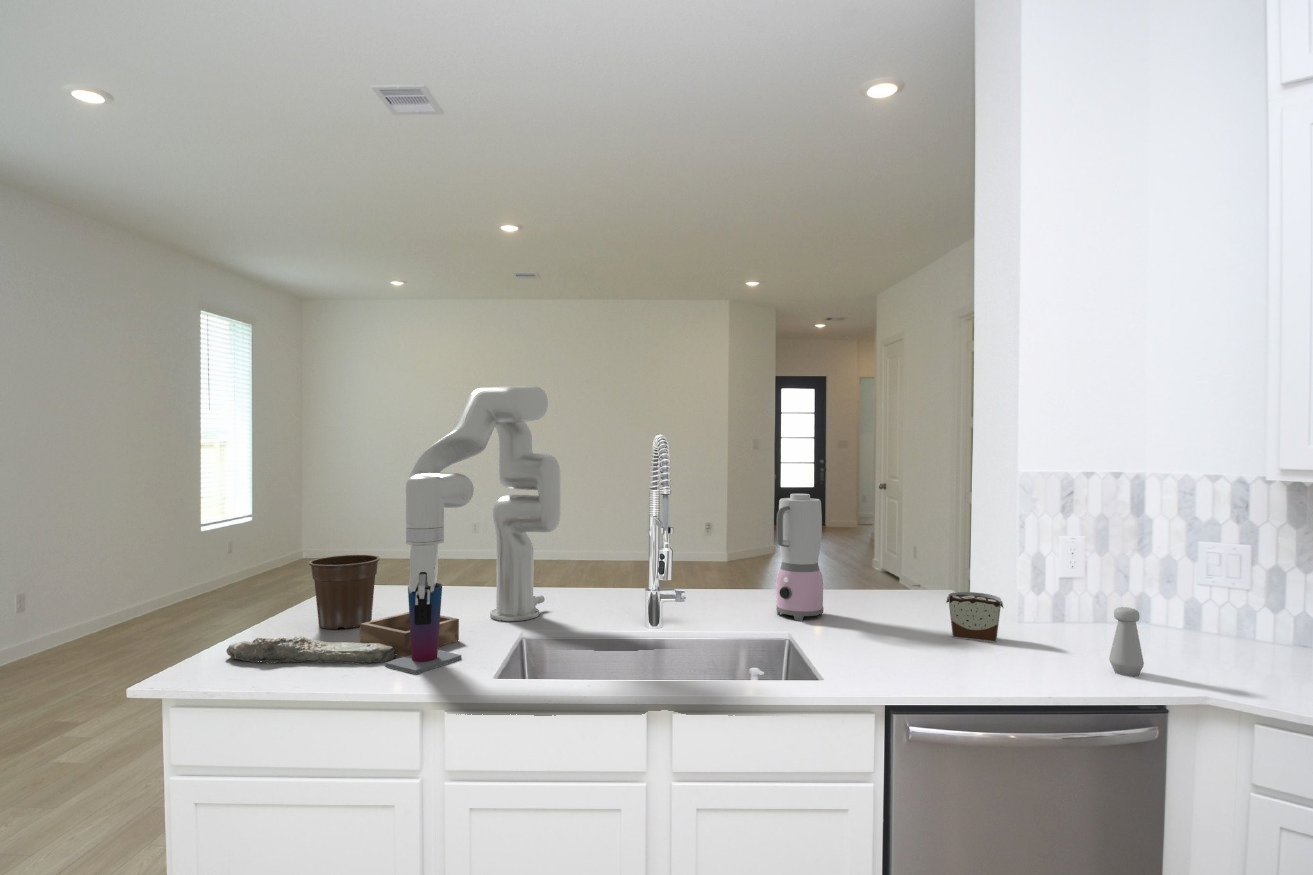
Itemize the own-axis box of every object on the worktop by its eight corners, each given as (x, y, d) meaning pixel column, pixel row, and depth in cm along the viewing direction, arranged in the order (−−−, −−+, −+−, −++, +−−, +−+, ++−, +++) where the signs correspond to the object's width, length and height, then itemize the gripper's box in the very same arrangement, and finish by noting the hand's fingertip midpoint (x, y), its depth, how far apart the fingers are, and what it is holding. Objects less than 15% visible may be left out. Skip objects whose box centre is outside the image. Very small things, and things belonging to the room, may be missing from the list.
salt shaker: (1102, 668, 149) (1102, 605, 149) (1129, 668, 149) (1129, 604, 149) (1123, 678, 143) (1123, 611, 143) (1150, 677, 144) (1150, 611, 144)
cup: (431, 664, 147) (432, 590, 147) (400, 662, 148) (401, 588, 148) (447, 654, 154) (448, 583, 154) (417, 652, 155) (418, 581, 155)
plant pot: (293, 628, 178) (293, 561, 178) (344, 613, 193) (344, 552, 193) (344, 635, 172) (345, 566, 172) (393, 619, 187) (393, 556, 187)
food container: (1003, 636, 173) (1003, 594, 173) (1003, 643, 168) (1003, 599, 168) (947, 630, 178) (947, 589, 178) (945, 636, 173) (946, 594, 173)
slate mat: (432, 652, 158) (432, 648, 158) (461, 658, 154) (461, 655, 154) (385, 666, 148) (385, 662, 148) (415, 674, 143) (415, 670, 143)
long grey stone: (382, 674, 148) (401, 662, 158) (384, 648, 148) (402, 637, 158) (213, 662, 149) (242, 651, 159) (215, 636, 149) (244, 626, 159)
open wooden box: (414, 631, 175) (414, 610, 175) (458, 640, 167) (458, 618, 167) (360, 646, 163) (360, 623, 163) (405, 657, 155) (405, 633, 155)
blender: (795, 607, 202) (795, 491, 202) (833, 615, 193) (833, 494, 193) (758, 616, 192) (759, 494, 192) (796, 625, 183) (797, 497, 183)
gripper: (410, 530, 159) (410, 609, 159) (401, 542, 142) (401, 630, 142) (446, 529, 160) (446, 607, 160) (441, 541, 143) (441, 628, 144)
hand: (424, 618), depth 151 cm, fingers open, 9 cm apart
